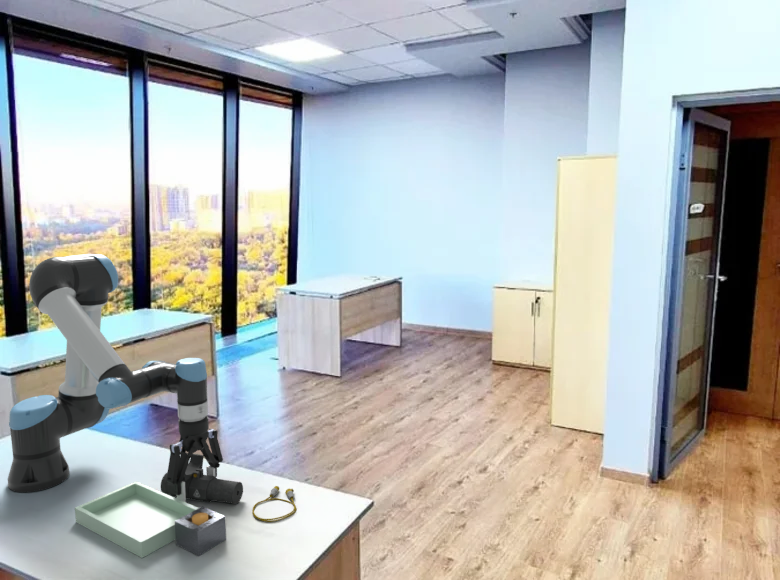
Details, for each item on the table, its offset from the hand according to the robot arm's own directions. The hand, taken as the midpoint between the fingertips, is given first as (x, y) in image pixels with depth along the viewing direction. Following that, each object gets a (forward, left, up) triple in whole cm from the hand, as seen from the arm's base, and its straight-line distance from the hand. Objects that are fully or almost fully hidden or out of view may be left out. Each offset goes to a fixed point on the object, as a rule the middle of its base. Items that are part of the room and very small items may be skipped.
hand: (196, 496), depth 159 cm
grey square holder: (+17, -13, -1) cm, 22 cm away
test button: (+17, -13, +1) cm, 22 cm away
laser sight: (0, +1, -1) cm, 1 cm away
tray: (-2, -16, -1) cm, 16 cm away
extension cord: (+21, +9, -1) cm, 23 cm away
